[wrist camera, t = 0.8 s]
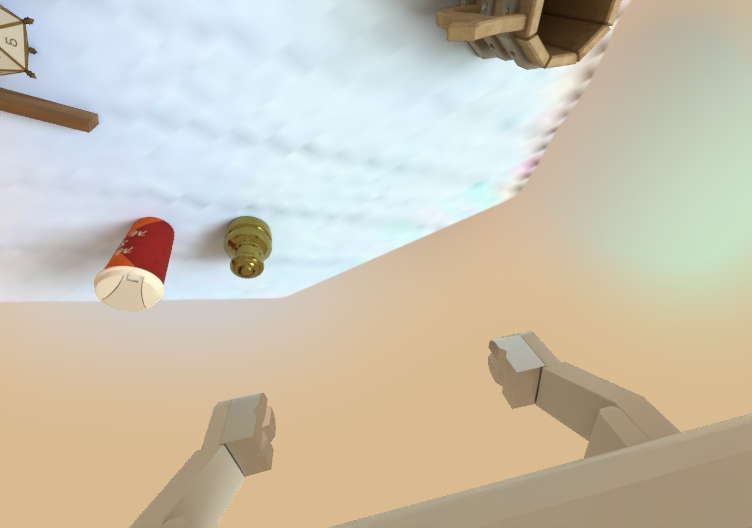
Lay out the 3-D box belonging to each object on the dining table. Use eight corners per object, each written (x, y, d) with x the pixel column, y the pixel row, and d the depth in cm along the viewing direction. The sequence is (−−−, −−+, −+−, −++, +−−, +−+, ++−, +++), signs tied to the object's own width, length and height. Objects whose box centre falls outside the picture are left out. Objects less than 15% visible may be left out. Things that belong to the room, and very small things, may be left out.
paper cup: (131, 203, 48) (95, 266, 38) (188, 222, 52) (169, 283, 42) (120, 241, 52) (85, 307, 42) (174, 255, 56) (154, 319, 46)
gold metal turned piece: (242, 255, 59) (239, 294, 52) (216, 225, 54) (209, 265, 47) (279, 239, 59) (281, 277, 52) (256, 208, 54) (255, 246, 46)
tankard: (564, -77, 38) (678, -92, 28) (535, 48, 47) (613, 73, 36) (404, -62, 36) (461, -72, 25) (405, 67, 45) (448, 100, 34)
